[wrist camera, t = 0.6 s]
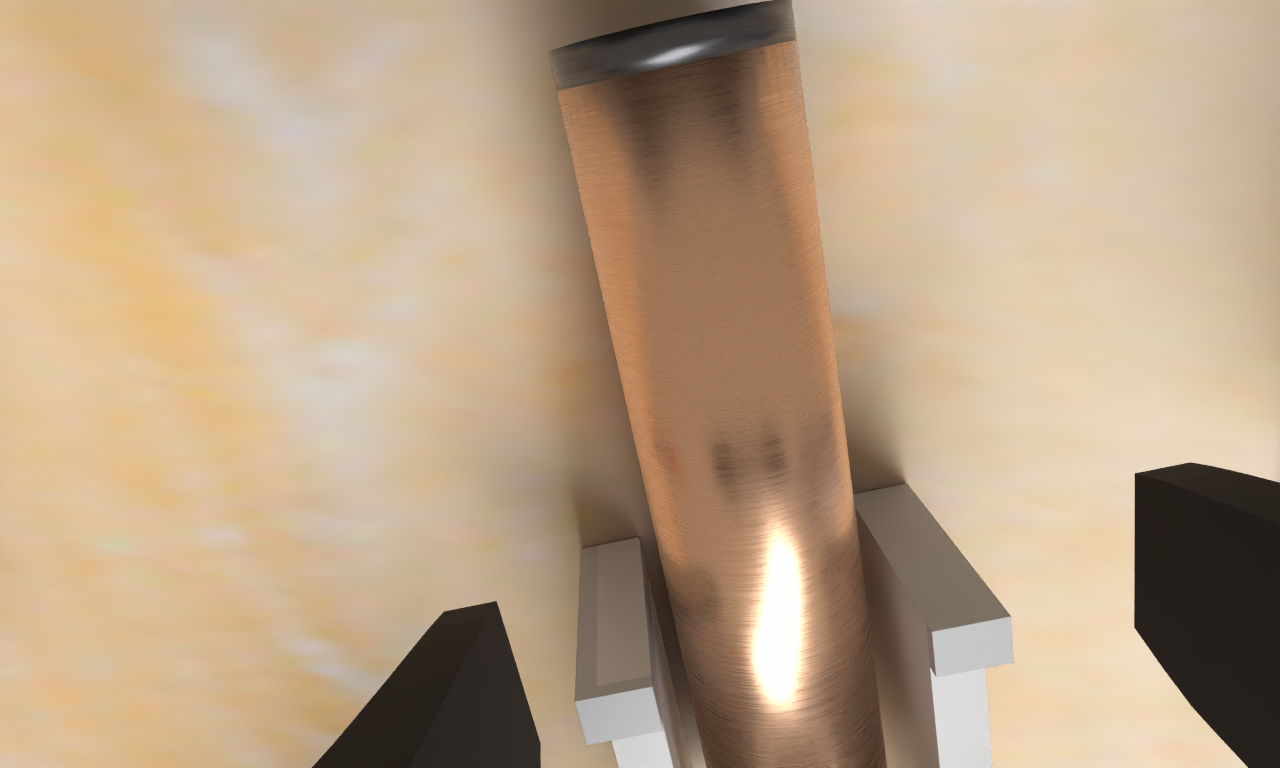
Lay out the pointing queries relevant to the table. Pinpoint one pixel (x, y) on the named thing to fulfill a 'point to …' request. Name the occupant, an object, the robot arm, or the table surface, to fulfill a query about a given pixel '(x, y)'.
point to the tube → (730, 374)
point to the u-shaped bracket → (900, 632)
